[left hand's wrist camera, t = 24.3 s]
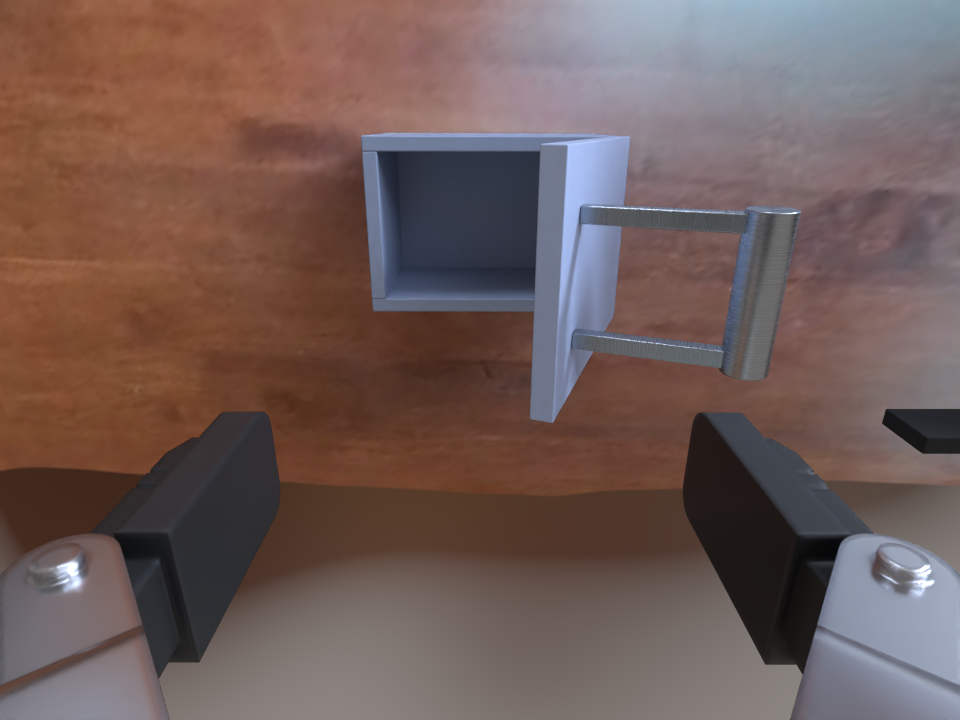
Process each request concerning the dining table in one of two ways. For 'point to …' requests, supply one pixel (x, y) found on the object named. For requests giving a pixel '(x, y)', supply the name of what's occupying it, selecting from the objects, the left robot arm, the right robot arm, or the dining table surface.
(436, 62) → the dining table surface
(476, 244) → the chest
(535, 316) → the grey box lid
